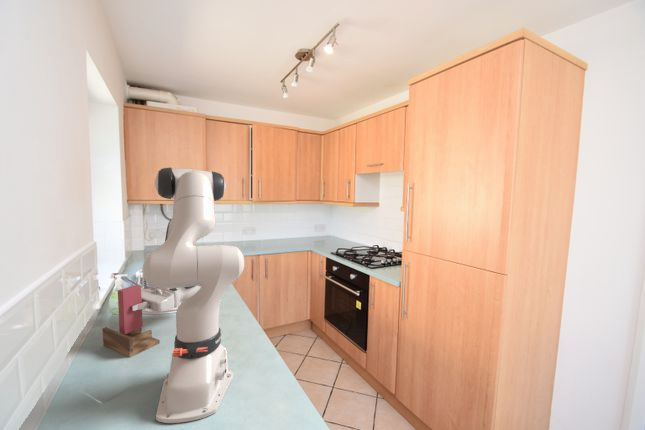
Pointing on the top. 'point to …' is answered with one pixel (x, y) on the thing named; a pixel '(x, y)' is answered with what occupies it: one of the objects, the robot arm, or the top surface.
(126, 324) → the red rectangular block
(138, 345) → the book rack
